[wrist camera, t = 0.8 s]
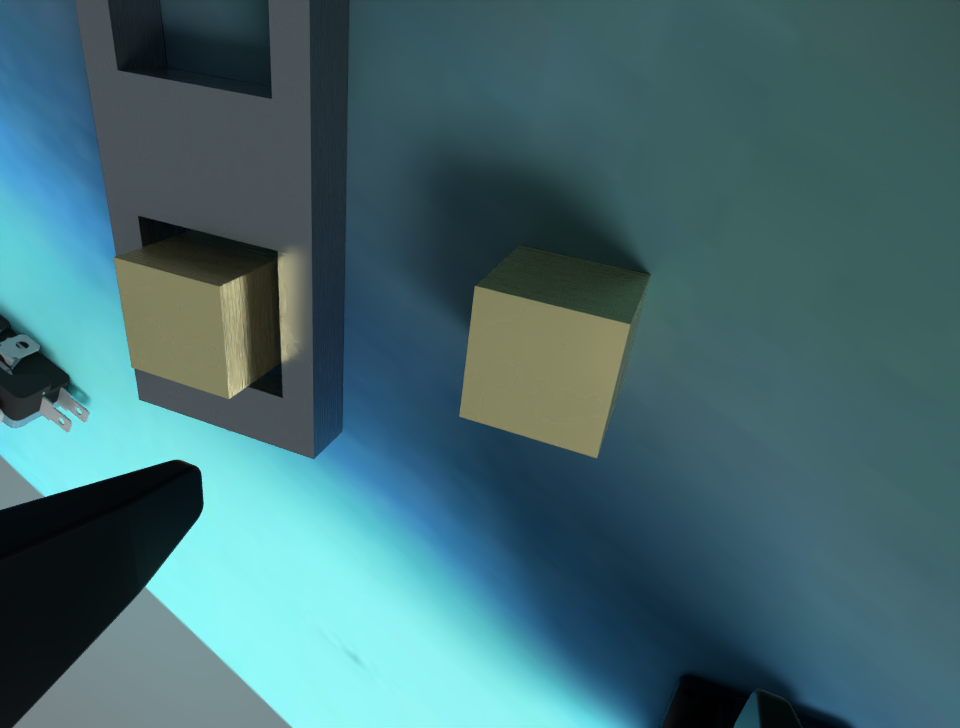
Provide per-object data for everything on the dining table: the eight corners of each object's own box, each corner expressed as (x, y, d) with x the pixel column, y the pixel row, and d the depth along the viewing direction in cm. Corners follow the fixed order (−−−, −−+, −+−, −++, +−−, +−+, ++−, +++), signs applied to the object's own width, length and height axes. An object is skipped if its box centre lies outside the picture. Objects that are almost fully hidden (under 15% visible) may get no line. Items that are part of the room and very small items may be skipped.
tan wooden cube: (298, 350, 25) (228, 399, 21) (211, 324, 26) (131, 367, 22) (296, 250, 23) (219, 286, 20) (202, 226, 24) (113, 257, 21)
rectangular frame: (342, 431, 26) (313, 459, 24) (175, 377, 28) (139, 399, 26) (352, -235, 16) (307, -266, 14) (97, -243, 18) (31, -272, 16)
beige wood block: (620, 390, 21) (596, 458, 17) (503, 358, 22) (459, 416, 18) (650, 273, 19) (630, 324, 16) (520, 244, 20) (474, 285, 17)
